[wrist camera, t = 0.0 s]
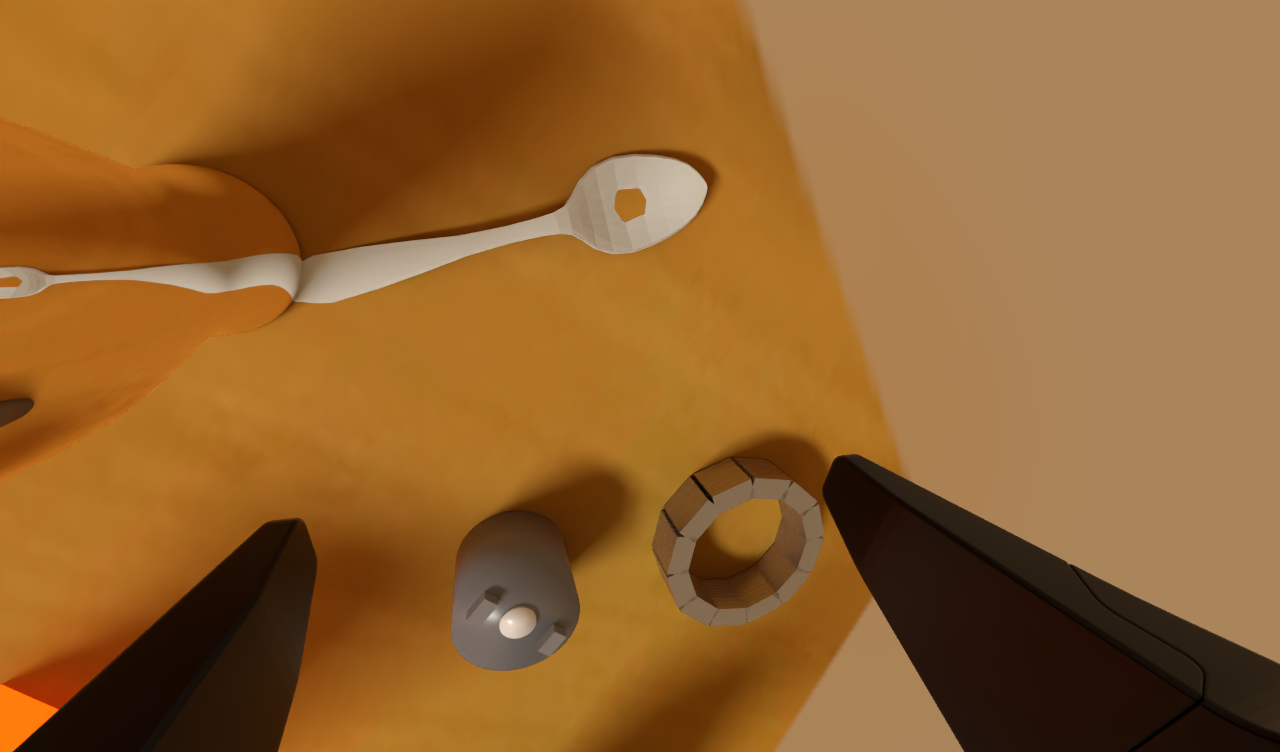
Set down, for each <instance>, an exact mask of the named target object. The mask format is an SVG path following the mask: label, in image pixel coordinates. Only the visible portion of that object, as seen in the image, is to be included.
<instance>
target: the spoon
mask: <svg viewBox="0 0 1280 752" xmlns="http://www.w3.org/2000/svg"><path fill="white" fill-rule="evenodd" d="M633 188H639V189H640V190H641V192H642V193H643V195H644V197H645V198H646V200H647V201H646V208H645V213H644V215H642V216H639V217H637V218H635V219H632V220H630V221H628V222H624V221H622V220H621V219H620V217H619V216H618V214H617V213H616V211H615V209H614V202H615V195H616V193H617V191H618V190H620V189H633ZM707 190H708V187H707V183H706V181H705V180H704V178H703V177H702V176H701V175H700V173H699V172H698V171H697V170H695V169H694V168H693V167H692V166H690V165H689V164H688V163H686V162H683V161H681V160H678V159H676V158H672V157H666V156H661V155H650V154H630V155H622V156H615V157H611V158H609V159H607V160H604V161H602V162H600V163H598V164H596V165H594V166H592V167H591V168H590V169H589V170H588V171H587V172H586V173H585V174H584V175H583V177H582V178H581V179H580V180H579V181H578V183H577V185H576V187H575V189H574V191H573V193H572V195H571V196H570V198H569V199H568V201H567V202H566V204H565V205H564V206H563V207H562V208H561V209H559V210H557V211H555V212H553V213H550V214H547V215H544V216H541V217H538V218H535V219H531V220H527V221H524V222H520V223H516V224H512V225H508V226H504V227H499V228H494V229H489V230H484V231H479V232H474V233H469V234H464V235H459V236H450V237H441V238H431V239H422V240H412V241H404V242H396V243H388V244H380V245H372V246H364V247H358V248H352V249H347V250H341V251H335V252H330V253H324V254H319V255H313V256H311V257H309V258H307V259H305V260H303V261H302V275H301V281H300V285H299V288H298V291H297V293H296V295H295V297H294V299H293V300H292V301H295V302H307V303H333V302H337V301H340V300H343V299H346V298H350V297H353V296H356V295H360V294H363V293H366V292H370V291H373V290H376V289H379V288H382V287H385V286H388V285H390V284H393V283H396V282H399V281H402V280H404V279H407V278H410V277H413V276H415V275H418V274H421V273H424V272H426V271H429V270H432V269H434V268H437V267H439V266H442V265H445V264H447V263H450V262H453V261H455V260H458V259H460V258H463V257H466V256H469V255H472V254H476V253H479V252H483V251H486V250H489V249H493V248H496V247H500V246H503V245H506V244H510V243H514V242H518V241H523V240H527V239H532V238H537V237H541V236H548V235H555V234H569V235H573V236H575V237H577V238H578V239H580V240H582V241H584V242H585V243H587V244H588V245H590V246H591V247H593V248H594V249H597V250H600V251H603V252H607V253H610V254H623V253H634V252H637V251H639V250H642V249H645V248H648V247H650V246H653V245H655V244H657V243H659V242H661V241H663V240H664V239H666V238H668V237H670V236H672V235H673V234H675V233H676V232H678V231H679V230H681V229H682V228H684V227H685V226H686V225H687V224H688V223H689V222H690V221H691V220H692V219H693V218H694V217H695V216H696V215H697V214H698V212H699V210H700V208H701V206H702V205H703V203H704V200H705V197H706V194H707Z"/></svg>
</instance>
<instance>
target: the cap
mask: <svg viewBox="0 0 1280 752" xmlns="http://www.w3.org/2000/svg"><path fill="white" fill-rule="evenodd" d="M579 613H580V604H579V598H578V594H577V590H576V586H575V582H574V578H573V574H572V570H571V566H570V563H569V559H568V555H567V551H566V547H565V543H564V539H563V536H562V534H561V532H560V530H559V529H558V528H557V526H556V525H555V524H554V523H553V522H552V521H550V520H549V519H547V518H546V517H544V516H542V515H539V514H536V513H533V512H528V511H510V512H504V513H500V514H497V515H494V516H492V517H490V518H488V519H485V520H484V521H482V522H481V523H479V524H478V525H476V526H475V527H474V528H473V529H472V530H471V531H470V532H469V533H468V534H467V535H466V537H465V538H464V539H463V541H462V543H461V545H460V547H459V550H458V553H457V557H456V570H455V583H454V596H453V609H452V622H451V635H452V640H453V643H454V645H455V647H456V649H457V651H458V652H459V653H460V655H461V656H462V657H464V658H465V659H466V660H467V661H469V662H470V663H472V664H474V665H476V666H478V667H481V668H484V669H489V670H497V671H509V670H516V669H521V668H525V667H528V666H531V665H534V664H536V663H538V662H540V661H542V660H544V659H546V658H548V657H549V656H551V655H552V654H554V653H555V652H556V651H557V650H558V649H560V648H561V647H562V646H563V645H564V644H565V643H566V641H567V640H568V639H569V637H570V636H571V634H572V633H573V631H574V629H575V627H576V625H577V622H578V619H579Z"/></svg>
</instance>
